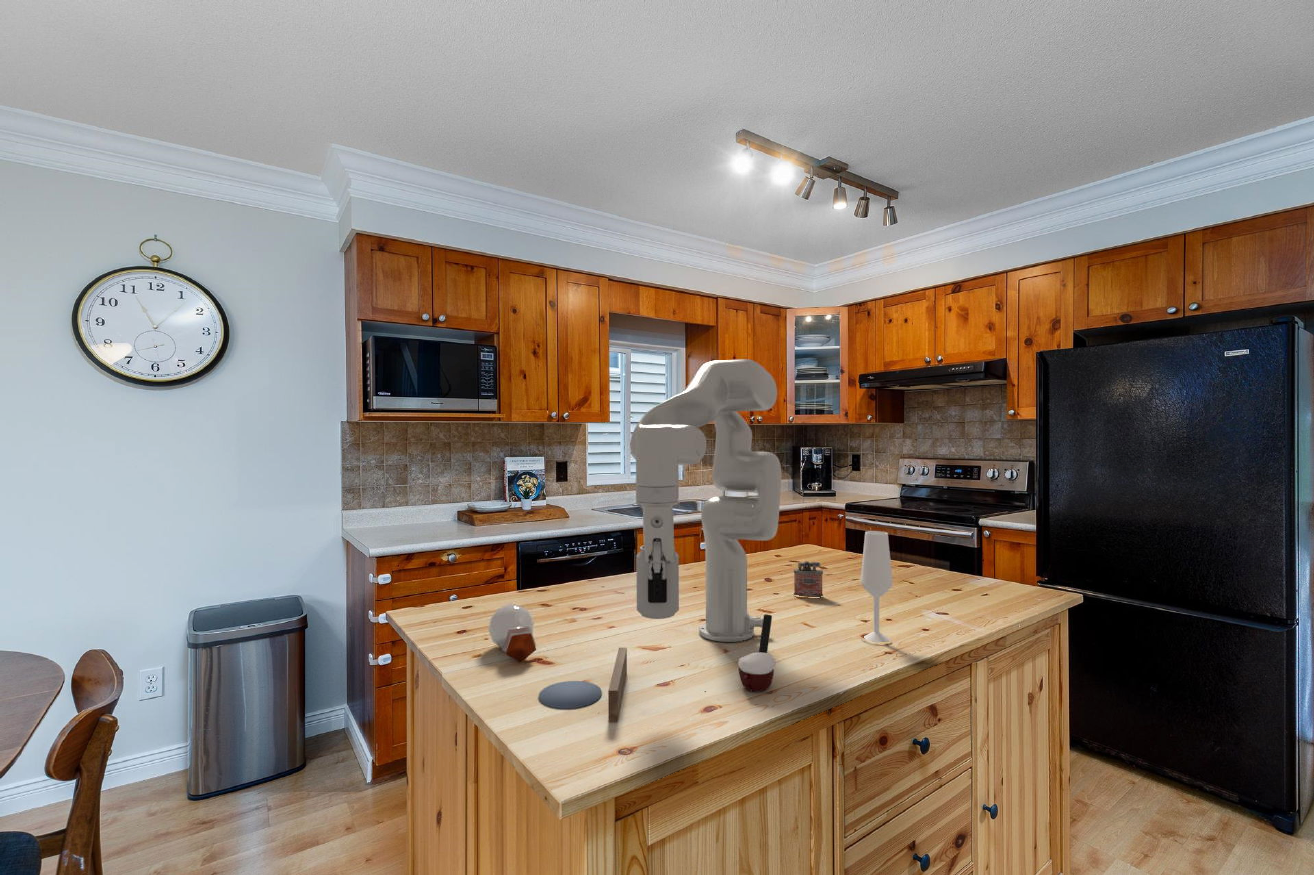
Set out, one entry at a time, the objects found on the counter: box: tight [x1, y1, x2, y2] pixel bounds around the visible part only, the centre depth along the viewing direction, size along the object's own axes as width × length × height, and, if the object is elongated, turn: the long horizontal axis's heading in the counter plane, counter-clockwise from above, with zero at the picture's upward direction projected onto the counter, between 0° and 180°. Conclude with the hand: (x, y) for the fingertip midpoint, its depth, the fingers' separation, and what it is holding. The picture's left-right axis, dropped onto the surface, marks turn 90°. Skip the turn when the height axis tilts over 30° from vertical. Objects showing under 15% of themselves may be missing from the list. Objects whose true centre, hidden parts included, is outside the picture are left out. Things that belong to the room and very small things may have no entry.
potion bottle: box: [488, 603, 537, 663], centre depth 132 cm, size 9×10×15 cm
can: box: [635, 544, 680, 620], centre depth 109 cm, size 8×8×12 cm
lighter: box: [793, 560, 824, 597], centre depth 175 cm, size 8×3×10 cm, turn 80°
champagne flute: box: [860, 530, 894, 642], centre depth 138 cm, size 7×7×24 cm
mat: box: [538, 680, 603, 710], centre depth 109 cm, size 11×11×1 cm
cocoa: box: [737, 613, 776, 692], centre depth 113 cm, size 10×6×12 cm, turn 122°
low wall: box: [607, 647, 628, 723], centre depth 109 cm, size 2×20×5 cm, turn 178°
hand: (657, 595), depth 109 cm, fingers closed on can, 7 cm apart
